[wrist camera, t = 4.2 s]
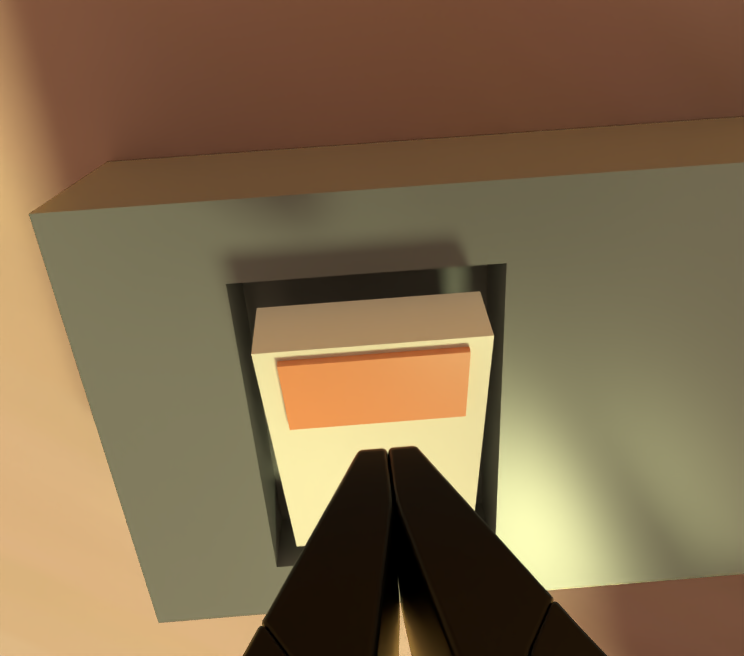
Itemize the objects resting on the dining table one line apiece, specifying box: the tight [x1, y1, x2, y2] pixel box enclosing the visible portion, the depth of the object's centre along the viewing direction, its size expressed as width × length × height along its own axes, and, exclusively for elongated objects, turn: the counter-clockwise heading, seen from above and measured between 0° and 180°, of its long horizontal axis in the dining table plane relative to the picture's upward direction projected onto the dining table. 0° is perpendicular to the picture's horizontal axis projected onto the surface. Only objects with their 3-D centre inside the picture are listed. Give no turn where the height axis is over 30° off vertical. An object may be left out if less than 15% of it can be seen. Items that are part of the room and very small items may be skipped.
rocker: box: [251, 291, 494, 546], centre depth 13 cm, size 6×4×1 cm, turn 4°
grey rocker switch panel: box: [29, 117, 744, 623], centre depth 15 cm, size 10×23×4 cm, turn 93°
